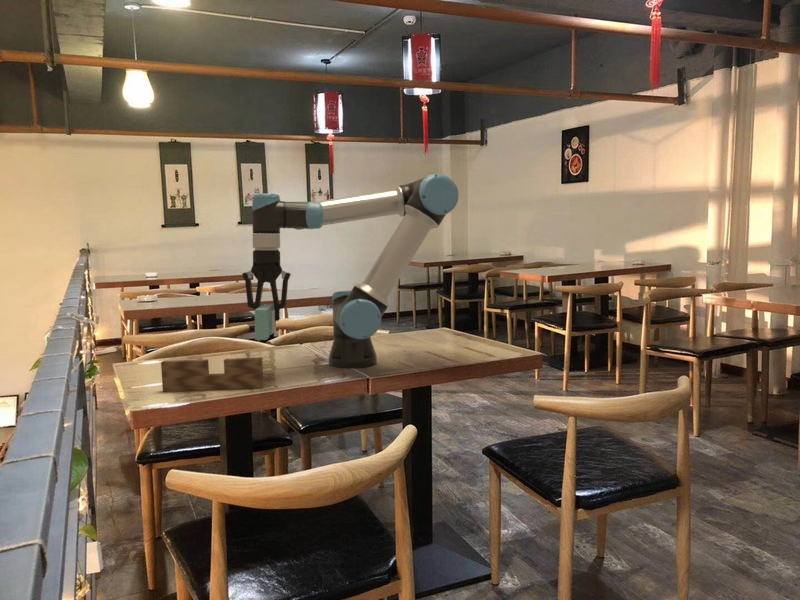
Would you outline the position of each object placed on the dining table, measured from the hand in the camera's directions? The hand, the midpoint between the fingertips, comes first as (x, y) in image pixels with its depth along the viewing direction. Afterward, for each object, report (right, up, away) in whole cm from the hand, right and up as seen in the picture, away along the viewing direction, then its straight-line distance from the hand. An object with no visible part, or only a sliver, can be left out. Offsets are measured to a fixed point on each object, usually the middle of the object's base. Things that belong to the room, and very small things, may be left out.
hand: (267, 332), depth 176 cm
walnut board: (-12, -15, -10) cm, 22 cm away
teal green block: (0, -1, -4) cm, 4 cm away
